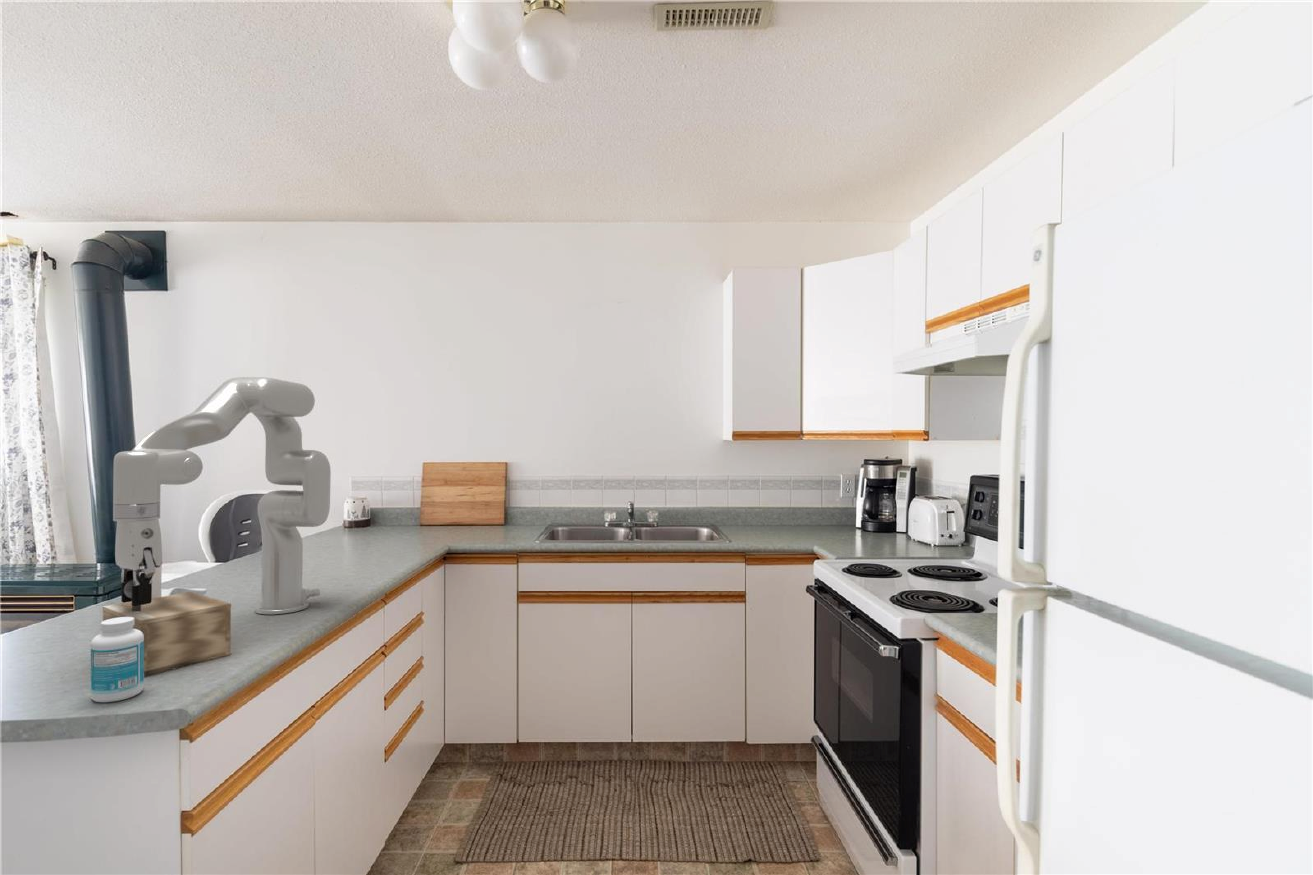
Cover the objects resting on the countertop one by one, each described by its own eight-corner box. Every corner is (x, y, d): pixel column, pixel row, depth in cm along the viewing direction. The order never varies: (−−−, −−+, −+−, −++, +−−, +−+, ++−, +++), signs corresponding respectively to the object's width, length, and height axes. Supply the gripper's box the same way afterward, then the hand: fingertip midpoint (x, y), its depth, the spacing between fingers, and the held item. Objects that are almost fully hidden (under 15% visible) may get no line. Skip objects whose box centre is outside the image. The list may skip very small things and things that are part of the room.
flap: (190, 595, 151) (190, 563, 151) (231, 607, 141) (231, 572, 141) (102, 610, 137) (102, 575, 137) (141, 625, 128) (141, 586, 128)
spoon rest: (162, 602, 185) (162, 576, 185) (211, 598, 189) (211, 573, 189) (130, 625, 163) (130, 595, 163) (187, 620, 167) (187, 592, 167)
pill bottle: (110, 688, 122) (111, 614, 122) (153, 687, 123) (154, 614, 123) (79, 704, 115) (79, 626, 115) (124, 703, 115) (125, 625, 115)
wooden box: (190, 640, 151) (190, 595, 151) (230, 654, 141) (230, 607, 141) (102, 659, 137) (103, 611, 137) (140, 677, 128) (140, 625, 128)
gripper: (177, 513, 133) (176, 605, 133) (141, 507, 142) (140, 593, 142) (132, 517, 127) (131, 613, 127) (97, 511, 136) (96, 600, 136)
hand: (136, 601), depth 135 cm, fingers closed on flap, 4 cm apart
